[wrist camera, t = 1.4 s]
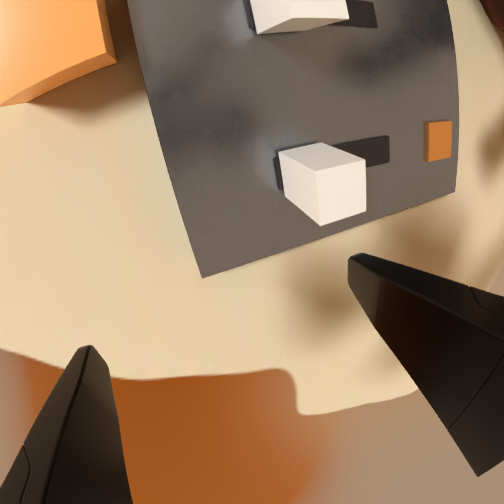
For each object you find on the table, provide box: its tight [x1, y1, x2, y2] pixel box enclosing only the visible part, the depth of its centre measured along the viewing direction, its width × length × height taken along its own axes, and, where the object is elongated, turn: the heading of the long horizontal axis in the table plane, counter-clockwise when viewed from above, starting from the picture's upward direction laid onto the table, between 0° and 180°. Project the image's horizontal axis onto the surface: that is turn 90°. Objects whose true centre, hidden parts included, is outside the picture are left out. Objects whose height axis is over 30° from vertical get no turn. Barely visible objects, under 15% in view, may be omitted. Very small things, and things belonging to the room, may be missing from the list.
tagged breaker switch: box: [278, 143, 366, 226], centre depth 15 cm, size 3×3×4 cm
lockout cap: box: [0, 0, 117, 107], centre depth 9 cm, size 6×6×4 cm
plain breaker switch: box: [250, 0, 349, 34], centre depth 10 cm, size 3×3×4 cm
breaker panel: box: [127, 0, 459, 278], centre depth 16 cm, size 22×18×2 cm
